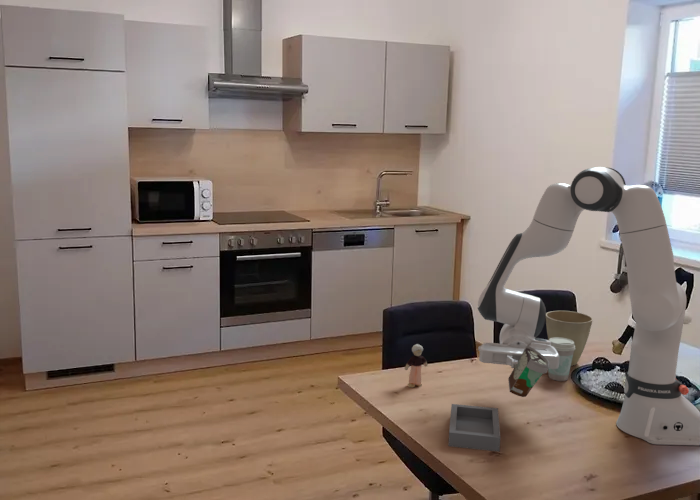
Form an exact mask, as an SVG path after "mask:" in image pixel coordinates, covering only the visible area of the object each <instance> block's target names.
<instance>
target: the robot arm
mask: <svg viewBox="0 0 700 500" xmlns="http://www.w3.org/2000/svg"><path fill="white" fill-rule="evenodd" d="M584 210H585V211H589V212H604V213H610V212H611V213H612V214H613V215H614V217H615V220H616V222H617V227H618V231H619V237H620V242H621V245H622V249H623V255H624V258H625V264H626V271H627V284H628V292H629V299H630V307H631V315H632V317H633V320H634V322H635V326H634V332H633V337H632V340H631V344H630V354H629V355H630V356H629V364H628V371H627V372H626V377H625V379H624V380H625V381H624V389H623V391H624V399H623V403H622V407H621V409H620V411H619V415H618V418H617V420H616V423H615V424H616V426H617V427H618V429H620V430H621V431H623V432H624V433H626V434H628V435H630V436H633V437H635V438H639V439H642V440H644V441H645V442H647V443H649V444H652V445H665V446H667V445H669V446H670V445H671V446H700V411H699V409H698V408H697V407H696V406H695V405H694V404H693V403H692V402H691V401H690V400H689V399H688V398H686V397H685V396H687V395H688V394H689V392H690V389H689V388H688V387H687V386H686V385H685V384H683V383H682V382H681V381H680V380H679V379H677V378H676V375H677V369H678V368H677V367H678V359H679V349H680V346H681V339H682V333H683V327H684V321H685V314H686V309H687V308H686V307H687V302H688V301H687V294H686V292H685V289H684V288H683V287H682V285H681V284H680V283H678V282H677V278H676V271H675V262H674V251H673V248H672V244H671V238H670V234H669V230H668V225H667V222H666V221H667V220H666V217H665V213H664V211H663V207H662V205H661V201H660V200H659V197H658V196H657V193H656V191H655V190H654V189H653V188H652V187H651V186H648V185H646V184H645V185H644V184H634V185H633V184H632V185H626V181H625V178H624V176H623V174H622V173H620V172H619V171H618V170H616V169H615V168H612V167H608V166H607V167H604V166H594V167H590V168H586V169H584V170H581V171H580V172H579V173H578V174H576V176H575V177H574V178H573V179H572V181H571V184H568V183H563V182H558V183H557V182H555V183H552V184H550V185H548V187H547V188H546V189H545V190H544V192H543V194H542V196H541V198H540V200H539V202H538V204H537V207H536V210H535V212H534V215H533V217H532V220H531V222H530V224H529V225H528V226H527V228H526V229H525V230H524V231H522V232H521V233H517V234H516V235H514V236H513V237H512V239H511V240H510V242H509V244H508V246H507V247H506V249H505V251H504V253H503V254H502V257H501V258H500V260H499V262H498V263H497V266H496V268H495V270H494V272H493V274H492V276H491V278H490V279H489V281H488V283H487V284H486V286H485V288H484V289H483V291H481V293H480V295H479V297H478V301H477V311H478V312H479V314H480V315H481V317H482V318H483V319H484V320H485V321H486V320H487V321H491V322H498V323H501V324H503V326H502V328H501V330H500V333H499V343H498V342H497V343H496V342H483V343H482V344H481V345H478V349H477V350H478V351H479V356H478V357H479V358H478V359H479V362H481V363H484V364H492V365H496V364H497V365H506V366H510V367H511V369H514V368H517V367H518V366H517V365H518V361H519V359H520V357H521V355H522V354H523V352H524V349H525V348H526V347H527V345H528V346H530V347H532V348H533V349H535V350H536V351H538V352H539V353H540V354H542V355H543V356H544V357H545V358H546V359H547V360H548V361H549V368H548V369H557V368H558V367H559V354H558V352H557V350H556V349H555V348H554V347H553V346H551V341H549V340H548V339H546V338H545V339H544V338H541V337H538V336H539V335H541V332H542V331H543V328H544V326H545V324H546V313H547V309H546V308H547V307H546V306H545V303H544V302H543V299H542V298H541V297H538V296H535V295H531V294H528V293H525V292H521V291H516V290H513V289H510V288H509V289H508V288H506V287H505V285H506V283H507V281H508V280H509V278H510V275H511V274H512V272H513V270H514V268H515V266H516V265H517V264H518V263H519V262H520V261H523V260H525V259H531V258H532V259H533V258H540V257H541V258H544V257H549V256H553V255H556V254H559V253H561V252H562V251H564V250H565V249H566V248H567V247H568V245H569V243H570V241H571V238H572V237H573V233H574V230H575V227H576V224H577V221H578V219H579V217H580V215H581V214H582V213H583V211H584Z"/></svg>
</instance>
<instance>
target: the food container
mask: <svg viewBox="0 0 700 500" xmlns="http://www.w3.org/2000/svg"><path fill="white" fill-rule="evenodd" d="M517 366H518V367H517V368H512V371H511V373H510V375H509V376H508V378H507V379H508V388H509V389H508V390H509V393H511V394H513V395H515V396H517V397H521V398H526V397H527V396H528V395H529V393H530V392H531V390H532V389H533V388H534V387H535V385H536V384H537V383H538V381H539V380H540V378H541V377H542V375H543V374H547V373H548V368H549V361H548V360H547V359H546V358H545V357H544V356H543V355H542V354H540V353H539V352H538V351H536V350H535V349H533V348H532V347H530V346H528V345H527V347H526V348H525V349H524V352H523V354H522V355H521V357H520V359H519V361H518V365H517Z"/></svg>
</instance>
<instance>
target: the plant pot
mask: <svg viewBox="0 0 700 500" xmlns="http://www.w3.org/2000/svg"><path fill="white" fill-rule="evenodd" d="M593 320H594V319H593V317H592V316H590V315H588V314H585V313H583V312H578V311H573V310H572V311H570V310H553V311H548V312H546V318H545V324H546V334H547V340H549V339H550V338H555V337H559V338H566V339H570V340H572V341H573V342H574V345H575V350H574V353H573V358H572V362H571V367H573V365H574V366H576V365H577V364H578V362H579V361H580V358H581V357H582V354H583V352H584V349H585V347H586V344H587V342H588V339H589V336H590V334H591V333H590V332H591V328H592V324H593Z"/></svg>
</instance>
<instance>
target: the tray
mask: <svg viewBox="0 0 700 500" xmlns="http://www.w3.org/2000/svg"><path fill="white" fill-rule="evenodd" d="M450 409H451V410H450V419H449V431H448V447H454V448H463V449H472V450H483V451H488V452H489V451H490V452H491V451H492V452H500V447H501V429H500V418H499V408H496V407H486V406H478V405H468V404H467V405H465V404H460V403H459V404H458V403H457V404H456V403H451V408H450Z"/></svg>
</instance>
